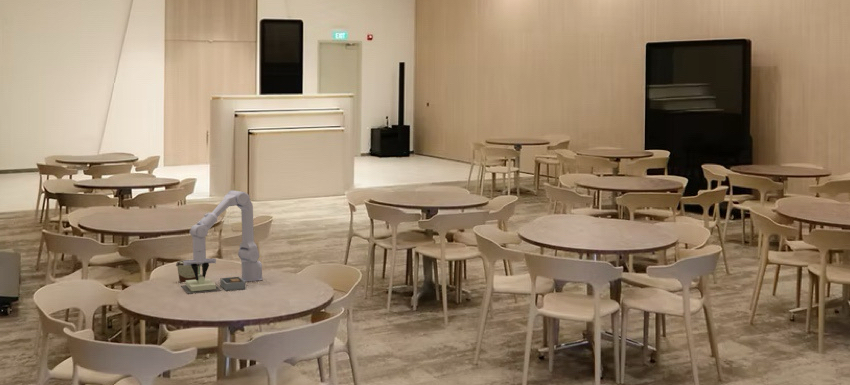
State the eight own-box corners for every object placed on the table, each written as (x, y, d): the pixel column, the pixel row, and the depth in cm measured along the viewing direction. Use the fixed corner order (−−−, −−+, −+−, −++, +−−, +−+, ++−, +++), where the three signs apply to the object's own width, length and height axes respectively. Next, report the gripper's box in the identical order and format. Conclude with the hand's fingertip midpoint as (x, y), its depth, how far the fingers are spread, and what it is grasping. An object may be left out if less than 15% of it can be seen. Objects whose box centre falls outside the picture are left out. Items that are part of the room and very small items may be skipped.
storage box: (239, 283, 440) (238, 276, 440) (245, 289, 429) (245, 281, 428) (220, 285, 437) (220, 278, 436) (226, 291, 425) (226, 283, 425)
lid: (209, 282, 439) (209, 272, 439) (215, 289, 426) (215, 277, 425) (185, 285, 435) (185, 274, 434) (191, 291, 421) (191, 280, 421)
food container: (205, 280, 449) (205, 259, 448) (201, 282, 443) (200, 262, 442) (181, 279, 450) (180, 259, 449) (176, 282, 444) (175, 261, 443)
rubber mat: (212, 283, 442) (212, 282, 442) (221, 290, 425) (221, 290, 425) (180, 286, 436) (180, 285, 436) (187, 294, 419) (187, 293, 419)
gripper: (184, 253, 422) (185, 282, 423) (216, 250, 428) (217, 279, 429) (182, 250, 428) (183, 279, 430) (213, 248, 434) (214, 277, 436)
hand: (200, 279), depth 430 cm, fingers closed on lid, 2 cm apart
